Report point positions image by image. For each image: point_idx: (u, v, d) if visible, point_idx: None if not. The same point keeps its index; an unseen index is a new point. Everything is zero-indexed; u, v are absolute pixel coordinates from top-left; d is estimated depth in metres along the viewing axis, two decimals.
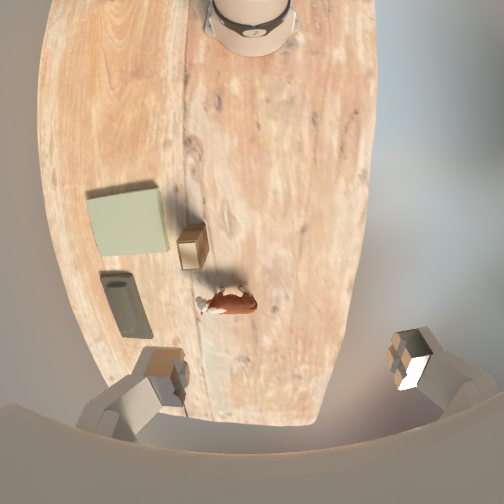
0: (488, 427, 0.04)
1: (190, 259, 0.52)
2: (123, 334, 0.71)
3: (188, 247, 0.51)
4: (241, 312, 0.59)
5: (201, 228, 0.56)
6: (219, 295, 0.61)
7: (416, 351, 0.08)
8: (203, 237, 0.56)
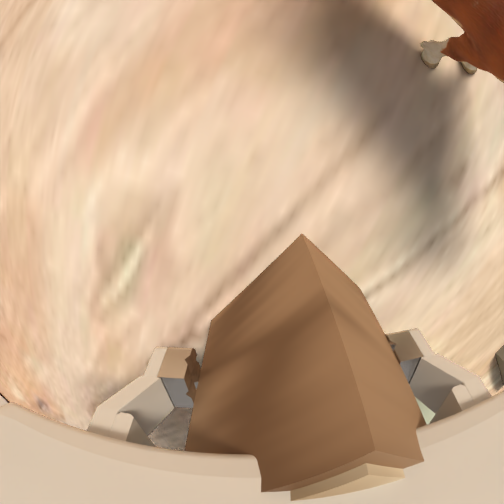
0: (488, 427, 0.04)
1: None
2: None
3: None
4: None
5: None
6: (480, 50, 0.04)
7: (405, 353, 0.08)
8: (224, 359, 0.09)
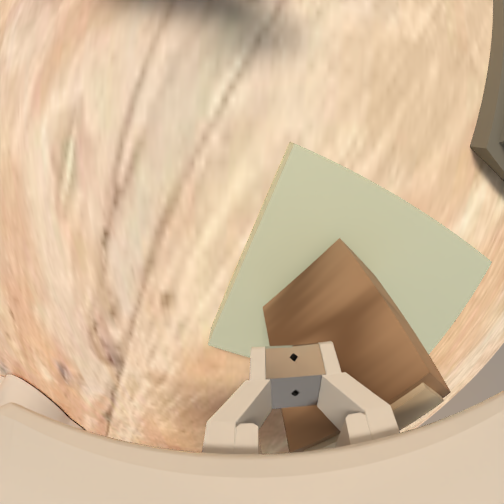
0: (488, 427, 0.04)
1: None
2: None
3: None
4: None
5: None
6: None
7: (305, 368, 0.08)
8: (295, 337, 0.13)
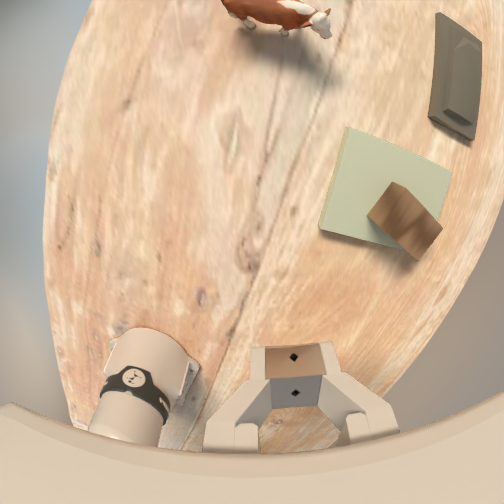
0: (488, 427, 0.04)
1: None
2: (479, 44, 0.22)
3: None
4: None
5: (390, 235, 0.33)
6: (286, 27, 0.24)
7: (305, 368, 0.08)
8: (403, 231, 0.32)
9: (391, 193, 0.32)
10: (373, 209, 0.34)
